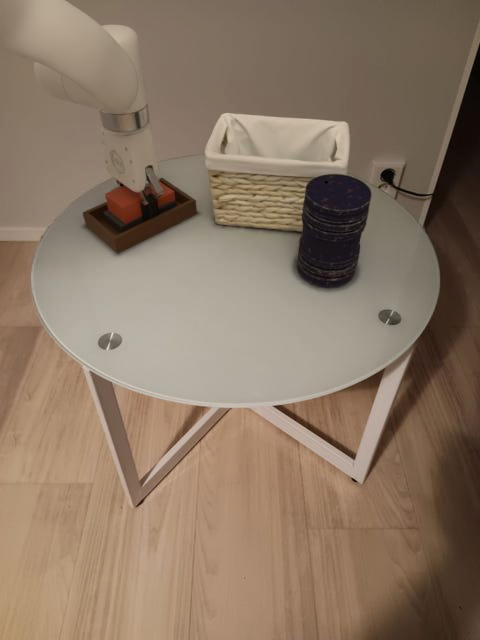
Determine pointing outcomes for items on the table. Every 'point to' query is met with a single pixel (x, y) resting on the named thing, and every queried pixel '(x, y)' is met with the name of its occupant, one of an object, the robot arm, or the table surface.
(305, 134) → the basket
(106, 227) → the tray
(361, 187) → the storage jar
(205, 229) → the table surface
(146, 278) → the table surface
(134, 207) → the shoe
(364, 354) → the table surface
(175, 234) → the table surface
